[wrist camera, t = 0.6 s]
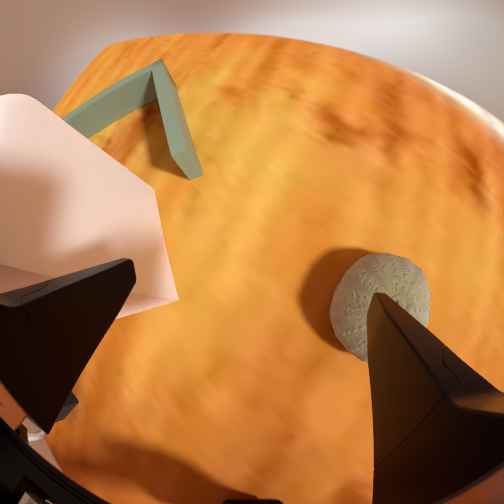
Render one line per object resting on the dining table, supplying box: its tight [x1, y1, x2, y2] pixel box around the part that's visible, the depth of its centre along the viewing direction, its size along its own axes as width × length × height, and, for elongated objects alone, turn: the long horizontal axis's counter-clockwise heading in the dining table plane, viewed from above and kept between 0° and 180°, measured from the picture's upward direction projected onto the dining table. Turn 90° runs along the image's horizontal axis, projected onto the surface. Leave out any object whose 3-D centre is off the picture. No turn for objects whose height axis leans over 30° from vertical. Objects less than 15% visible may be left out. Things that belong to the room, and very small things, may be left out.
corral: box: [62, 59, 203, 180], centre depth 20 cm, size 16×28×19 cm, turn 110°
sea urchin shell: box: [329, 253, 431, 362], centre depth 20 cm, size 9×8×8 cm
